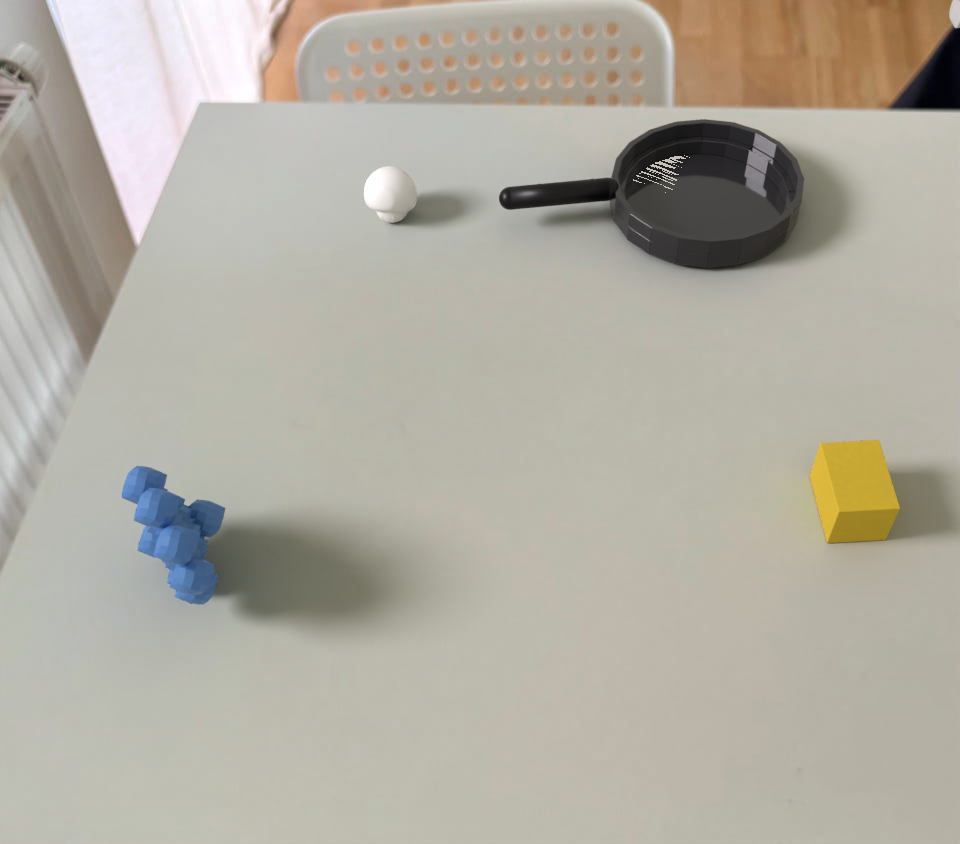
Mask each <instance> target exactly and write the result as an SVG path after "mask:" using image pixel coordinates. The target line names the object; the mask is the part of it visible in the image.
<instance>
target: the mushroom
mask: <svg viewBox="0 0 960 844" xmlns="http://www.w3.org/2000/svg"><path fill="white" fill-rule="evenodd" d="M363 199H364V203H365V205H366V206H367V207H369V209H371V210H373V211H375V212H376V214H377V216H378V218H379V219H380V220H382V221H384V222H385V223H391V224H392V223H393V224H394V223H398V222H401V221H403V220H404V219H405V218H406V217H407V214H408V213H409V212H410V211H412V210H413V209H414V208H415V207H416V205H417V202H418V190H417V186H416V183H415V182H414V179H413V178H412V176H411V175H410V174H409V173H407V171H405V169H402V168H400V167H397V166H392V165H387V166H382V167H379V168H378V169H375V170H374V171H373V172H371V174H370V175H369V176H368V178H367V179H366V180H365V183H364V187H363Z"/></svg>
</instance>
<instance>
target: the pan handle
mask: <svg viewBox="0 0 960 844" xmlns="http://www.w3.org/2000/svg"><path fill="white" fill-rule="evenodd" d="M618 188H619V186H618V183H617V182H616V180H614V179H612V178H611V177H599V178H589V179H577V180H567V181H558V182H556V181H555V182H545V183H534V184H525V185H513V186H507V187H505V188H503V189H502V190H501V191H500V192H499V196H498V202H499V204H500V206H501V207H502V208H503V209H505V210H508V211H511V210H514V211H515V210H522V209H532V208H533V209H534V208H545V207H554V206H557V207H558V206H567V205H578V204H587V203H597V202H598V203H599V202H610V200H612V199H614V197H615V191H617V190H618Z"/></svg>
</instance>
